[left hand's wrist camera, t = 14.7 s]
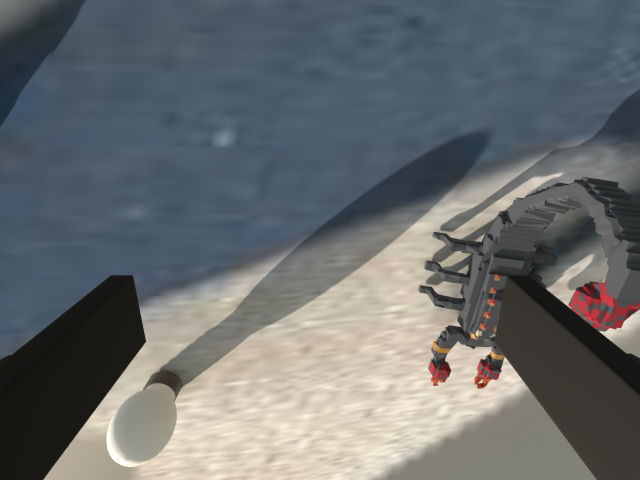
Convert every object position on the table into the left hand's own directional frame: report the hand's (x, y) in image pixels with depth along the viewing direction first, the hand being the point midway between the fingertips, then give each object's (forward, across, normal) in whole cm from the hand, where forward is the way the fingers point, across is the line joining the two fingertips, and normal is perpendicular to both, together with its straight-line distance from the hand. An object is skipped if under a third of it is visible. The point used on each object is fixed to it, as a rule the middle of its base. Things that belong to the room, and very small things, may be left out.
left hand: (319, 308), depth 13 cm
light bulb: (+27, -20, -27) cm, 43 cm away
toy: (+27, +18, -12) cm, 34 cm away
